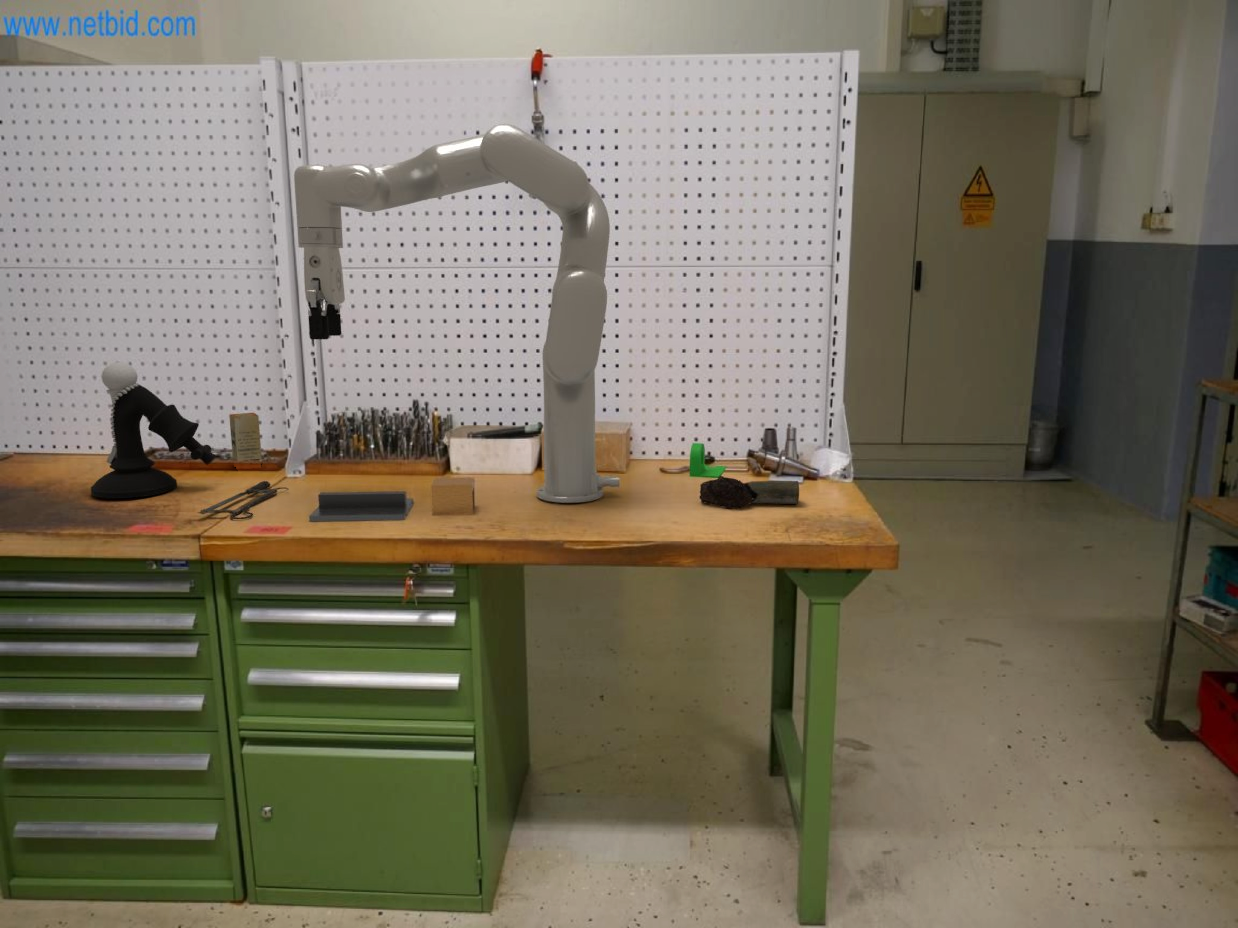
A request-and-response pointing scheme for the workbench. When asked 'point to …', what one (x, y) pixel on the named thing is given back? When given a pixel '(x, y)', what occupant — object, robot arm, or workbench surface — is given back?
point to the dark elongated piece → (748, 492)
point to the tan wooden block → (453, 496)
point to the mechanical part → (702, 463)
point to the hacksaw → (254, 489)
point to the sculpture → (128, 453)
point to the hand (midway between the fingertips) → (326, 337)
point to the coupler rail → (361, 513)
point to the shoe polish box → (245, 436)
